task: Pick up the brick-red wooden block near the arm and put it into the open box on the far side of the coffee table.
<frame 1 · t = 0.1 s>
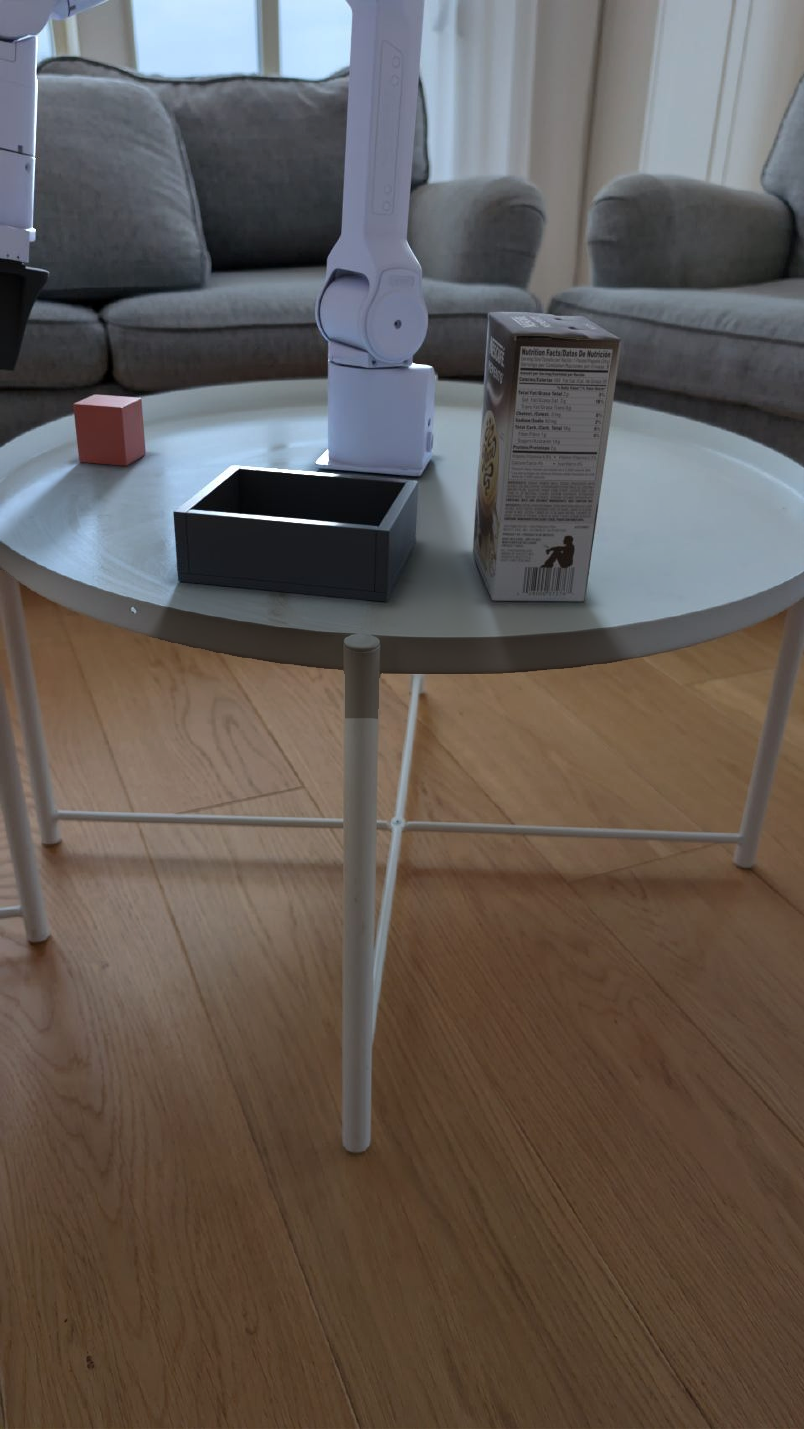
block: (113, 458, 92), on the table
coffee box: (525, 580, 69), on the table
open box: (303, 561, 70), on the table
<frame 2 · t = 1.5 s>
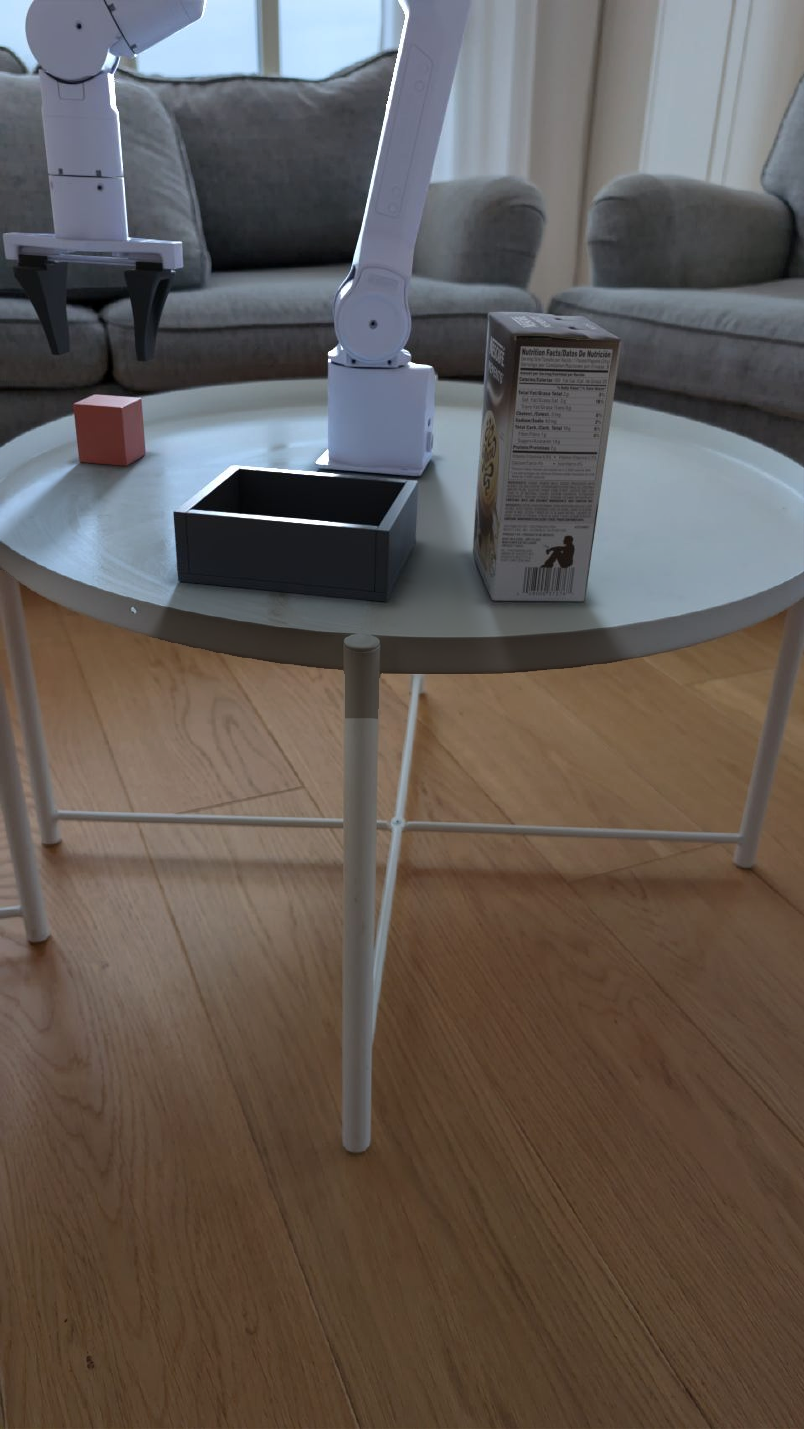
hand: (103, 356, 87), 9 cm above the table, tool pointing down, fingers open, 7 cm apart
nothing on the table moved.
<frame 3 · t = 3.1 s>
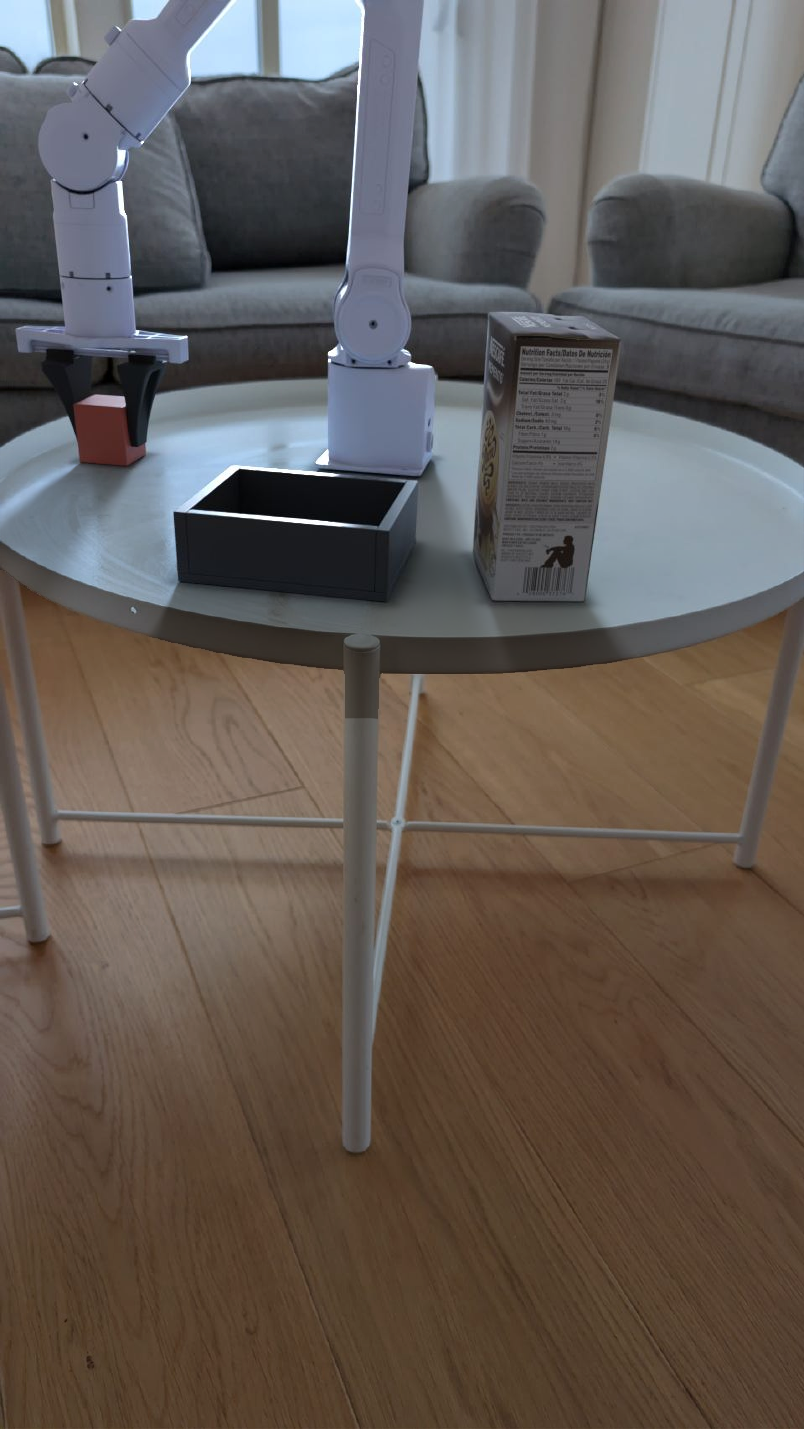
hand: (111, 442, 91), 1 cm above the table, tool pointing down, fingers closed on block, 4 cm apart
block: (113, 458, 91), on the table, touching gripper
everything else where it was.
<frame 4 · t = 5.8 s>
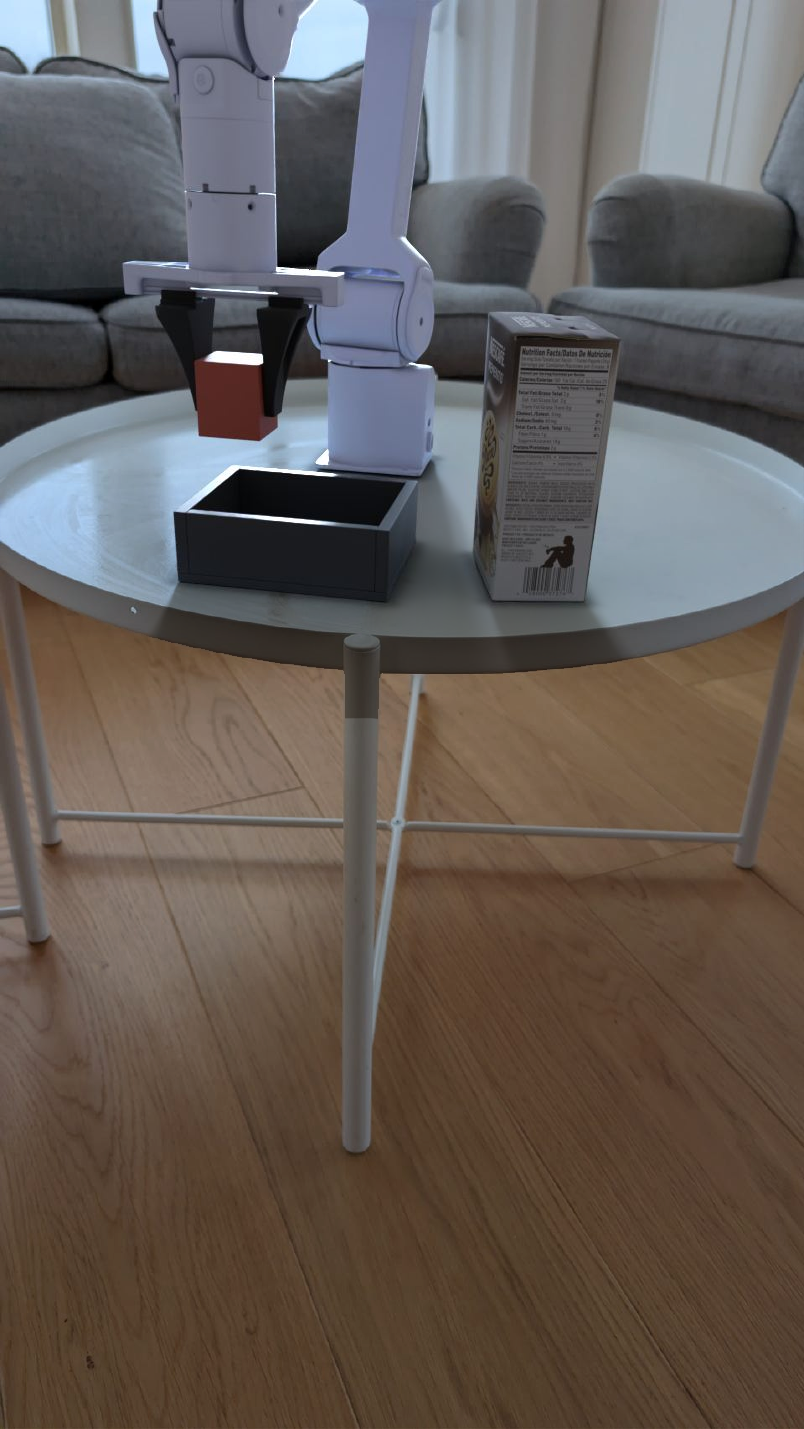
hand: (238, 411, 71), 8 cm above the table, tool pointing down, fingers closed on block, 4 cm apart
block: (239, 432, 72), point 7 cm above the table, touching gripper
everything else where it was.
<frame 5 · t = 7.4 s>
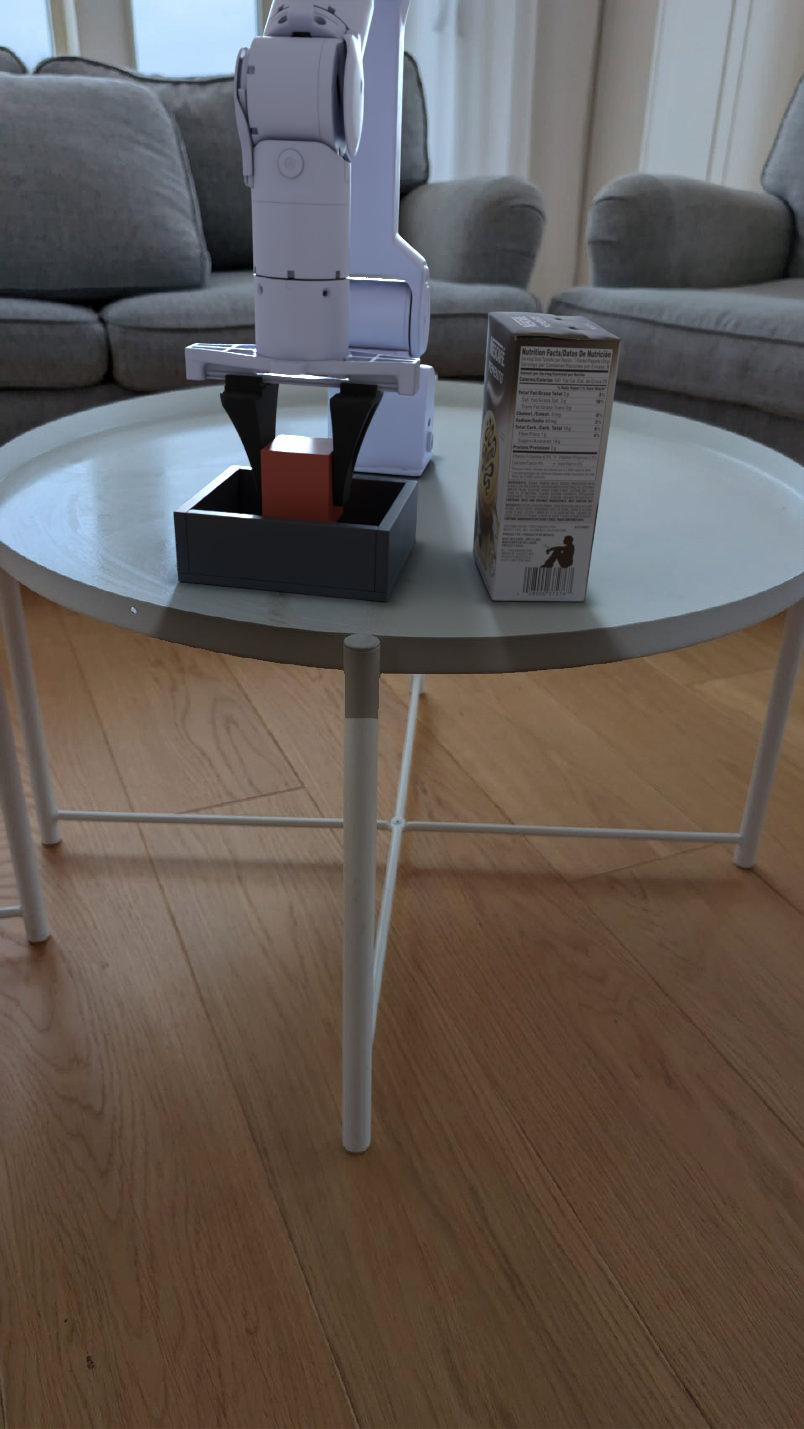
hand: (303, 499, 68), 4 cm above the table, tool pointing down, fingers closed on block, 4 cm apart
block: (303, 519, 68), point 3 cm above the table, touching gripper
everything else where it was.
when the fingers open (2 cm above the table, at t = 8.6 s): block stays where it is, resting on open box.
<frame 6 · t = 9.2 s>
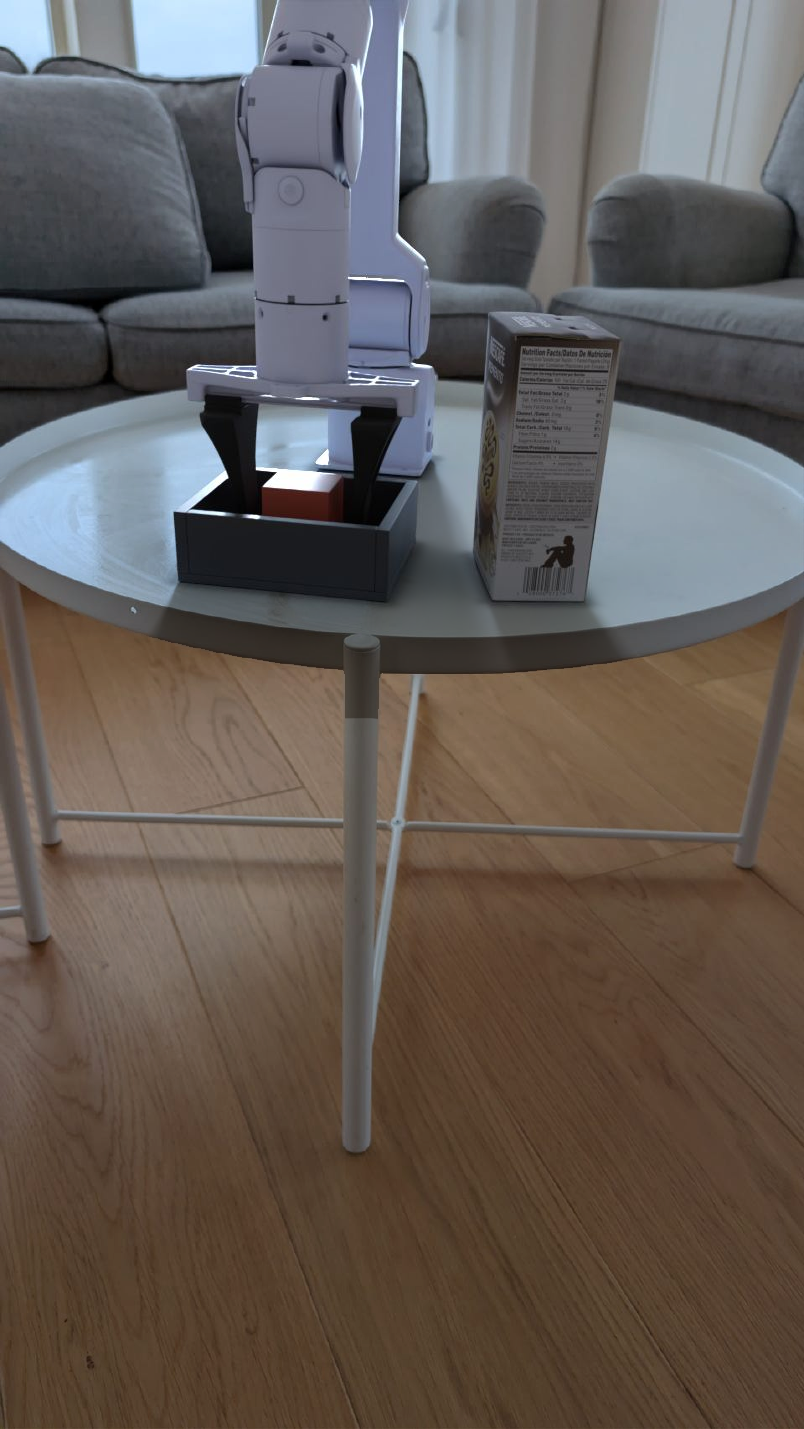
hand: (303, 518, 68), 3 cm above the table, tool pointing down, fingers open, 7 cm apart
block: (304, 553, 69), point 1 cm above the table, touching open box
everything else where it was.
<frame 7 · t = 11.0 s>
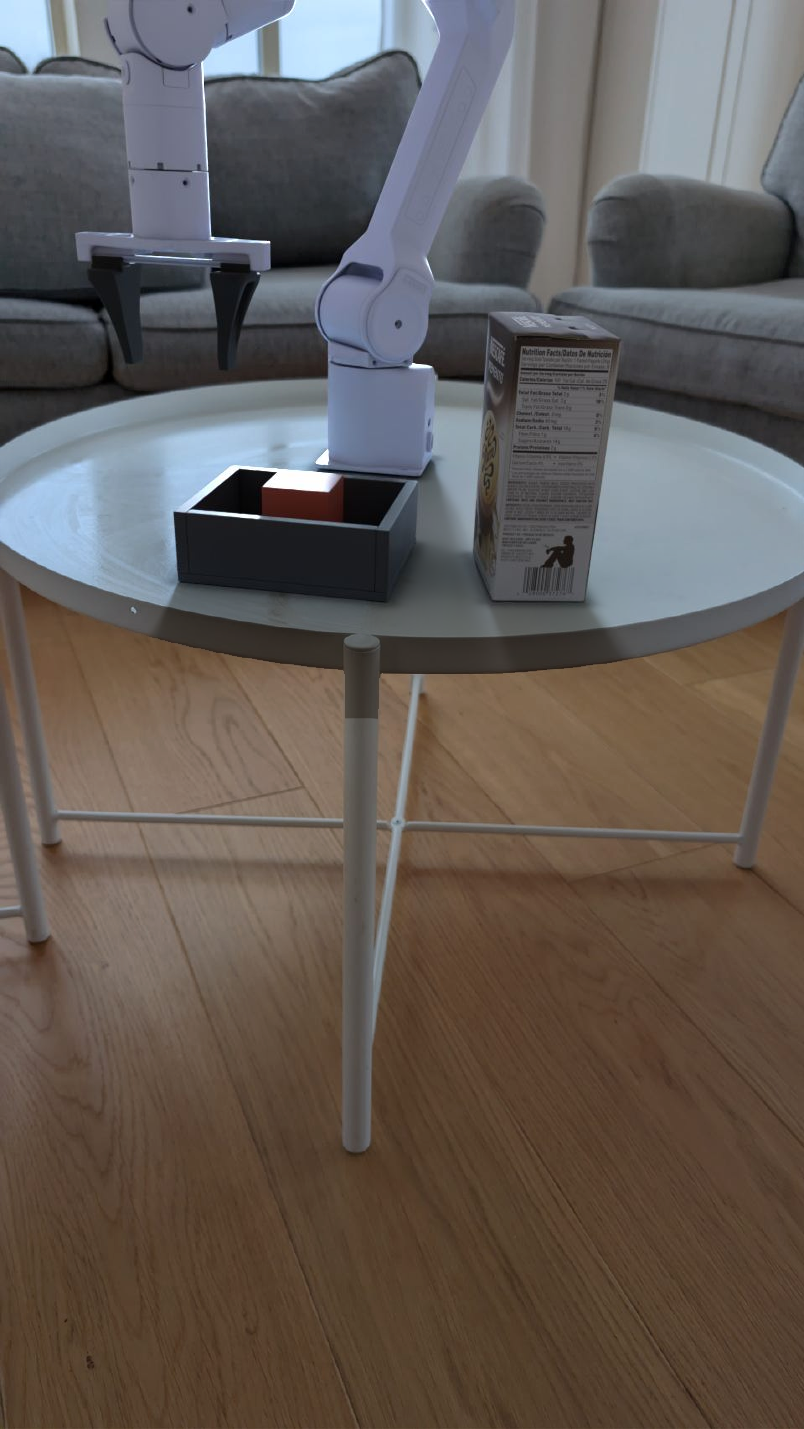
hand: (180, 365, 81), 9 cm above the table, tool pointing down, fingers open, 7 cm apart
nothing on the table moved.
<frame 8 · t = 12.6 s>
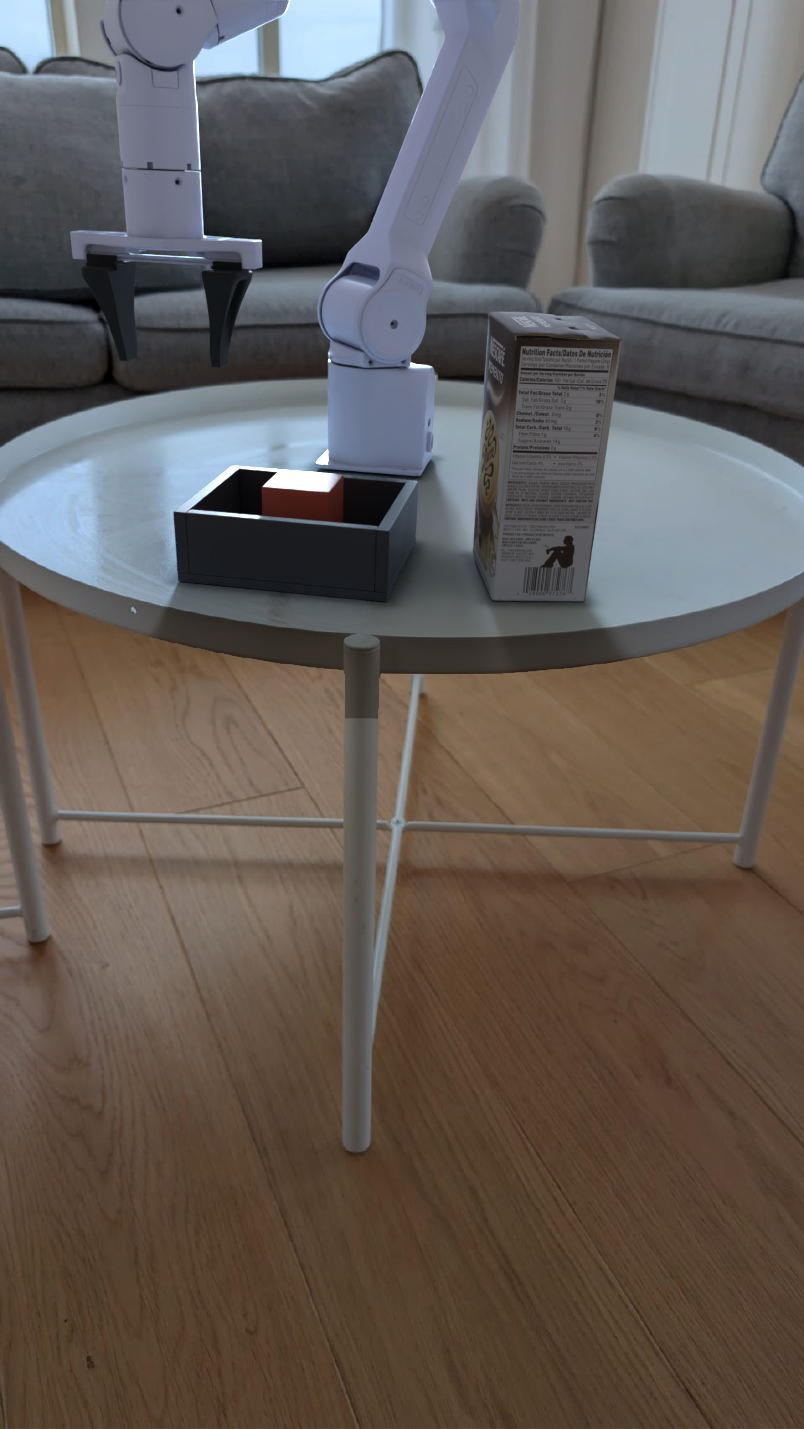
hand: (173, 362, 82), 9 cm above the table, tool pointing down, fingers open, 7 cm apart
nothing on the table moved.
at the end: block inside the target area in the open box (0.1 cm from its centre), point 0.6 cm above the open box's base; the gripper is holding nothing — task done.
